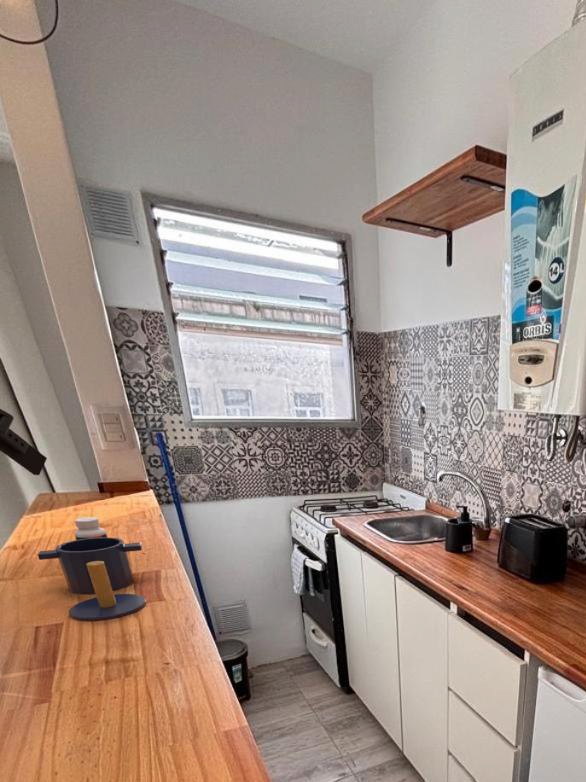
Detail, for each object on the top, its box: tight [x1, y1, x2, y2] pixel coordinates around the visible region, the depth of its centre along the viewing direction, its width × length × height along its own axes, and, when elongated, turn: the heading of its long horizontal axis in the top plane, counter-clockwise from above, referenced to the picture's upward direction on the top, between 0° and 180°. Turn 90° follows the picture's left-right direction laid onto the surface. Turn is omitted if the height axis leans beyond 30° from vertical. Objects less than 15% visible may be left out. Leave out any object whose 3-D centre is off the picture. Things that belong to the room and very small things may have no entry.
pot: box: [37, 536, 143, 595], centre depth 97 cm, size 10×16×8 cm, turn 119°
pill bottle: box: [74, 516, 108, 540], centre depth 109 cm, size 5×5×10 cm
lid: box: [68, 561, 147, 622], centre depth 87 cm, size 11×11×9 cm
